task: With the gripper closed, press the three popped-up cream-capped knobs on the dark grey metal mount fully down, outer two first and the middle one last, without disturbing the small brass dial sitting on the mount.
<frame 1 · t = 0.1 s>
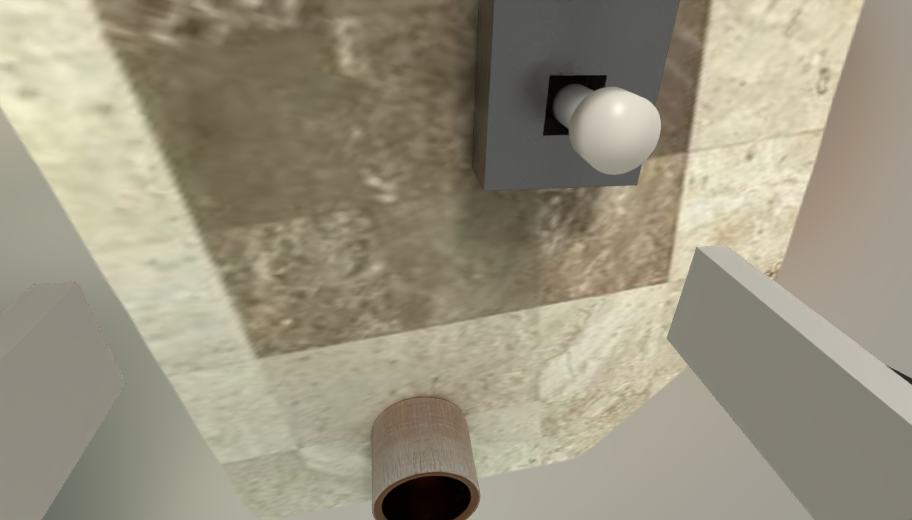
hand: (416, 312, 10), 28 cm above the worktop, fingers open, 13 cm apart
knob 1: (594, 118, 29), point 8 cm above the worktop, slide at 0.0 cm
planter: (419, 424, 54), on the worktop
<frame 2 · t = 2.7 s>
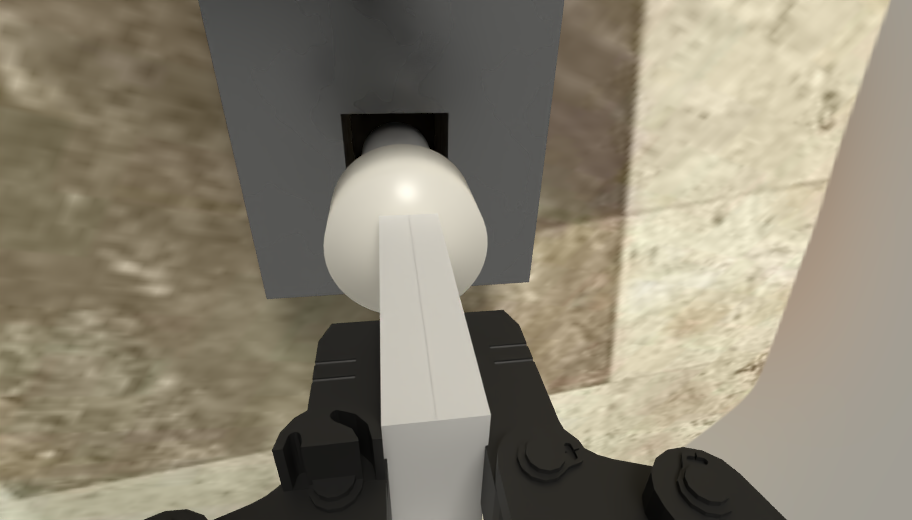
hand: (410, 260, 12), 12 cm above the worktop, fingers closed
knob 1: (400, 193, 16), point 8 cm above the worktop, slide at 0.6 cm, touching gripper
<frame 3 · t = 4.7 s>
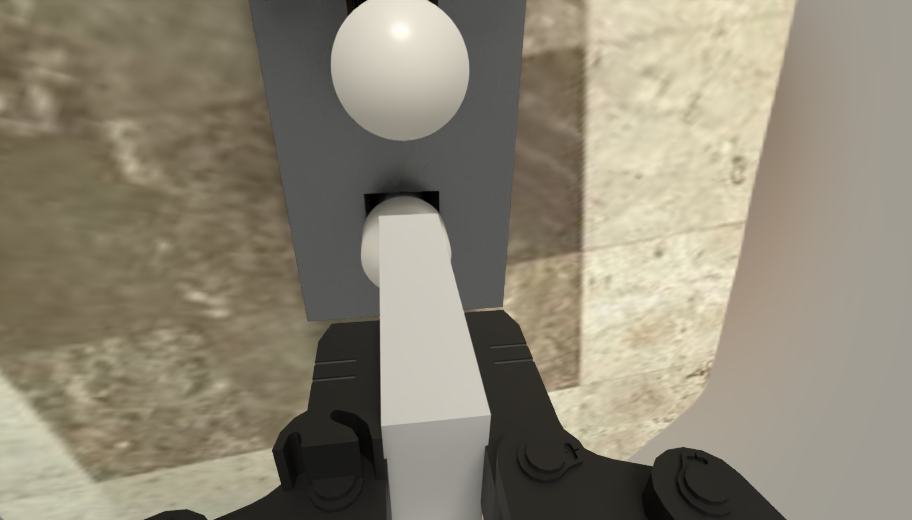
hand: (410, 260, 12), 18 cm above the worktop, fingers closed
knob mid: (397, 57, 18), point 8 cm above the worktop, slide at 0.0 cm
mount: (392, 38, 26), on the worktop
knob 1: (403, 222, 26), point 5 cm above the worktop, slide at 3.9 cm
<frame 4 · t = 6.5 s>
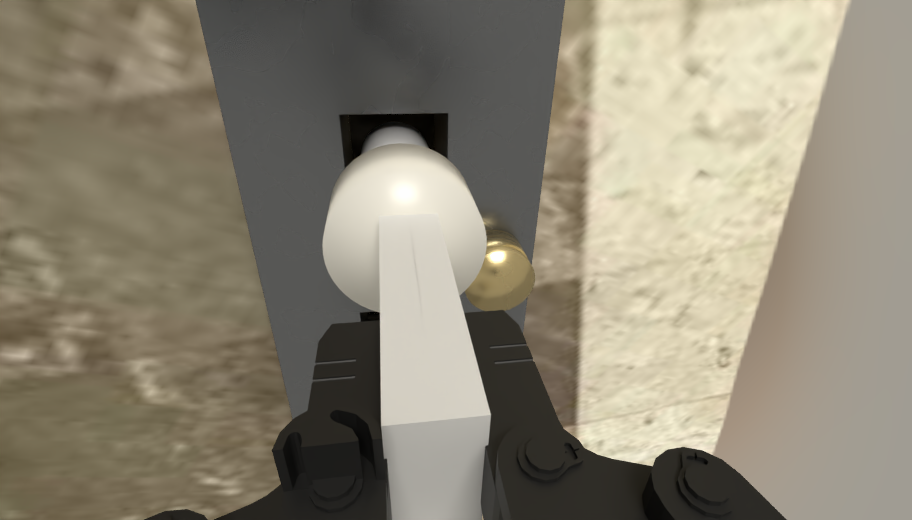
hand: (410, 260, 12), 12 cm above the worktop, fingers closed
knob 2: (400, 193, 16), point 8 cm above the worktop, slide at 0.8 cm, touching gripper
brass dial: (489, 258, 21), point 5 cm above the worktop, touching mount
mount: (399, 284, 27), on the worktop
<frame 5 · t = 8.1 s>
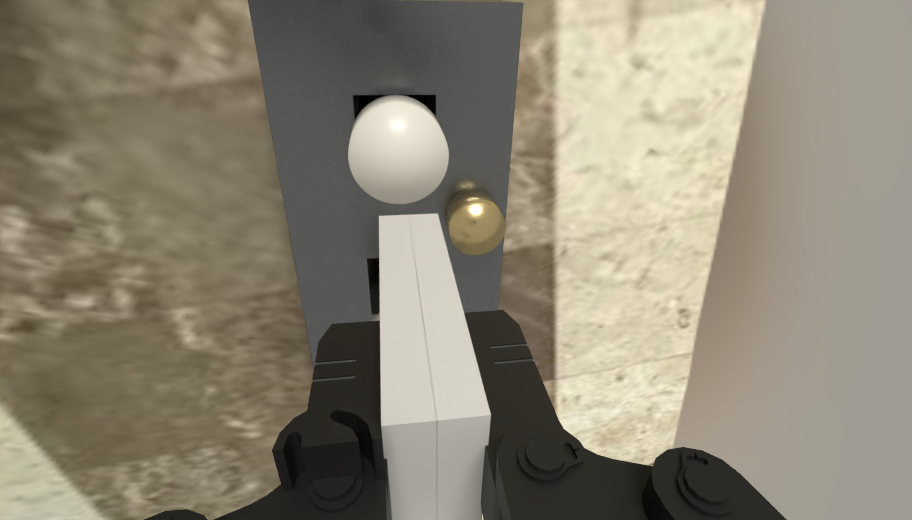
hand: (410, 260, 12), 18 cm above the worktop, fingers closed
knob 2: (396, 133, 24), point 5 cm above the worktop, slide at 3.9 cm
knob mid: (405, 320, 25), point 8 cm above the worktop, slide at 0.0 cm
brass dial: (471, 214, 26), point 5 cm above the worktop, touching mount
mount: (399, 246, 32), on the worktop
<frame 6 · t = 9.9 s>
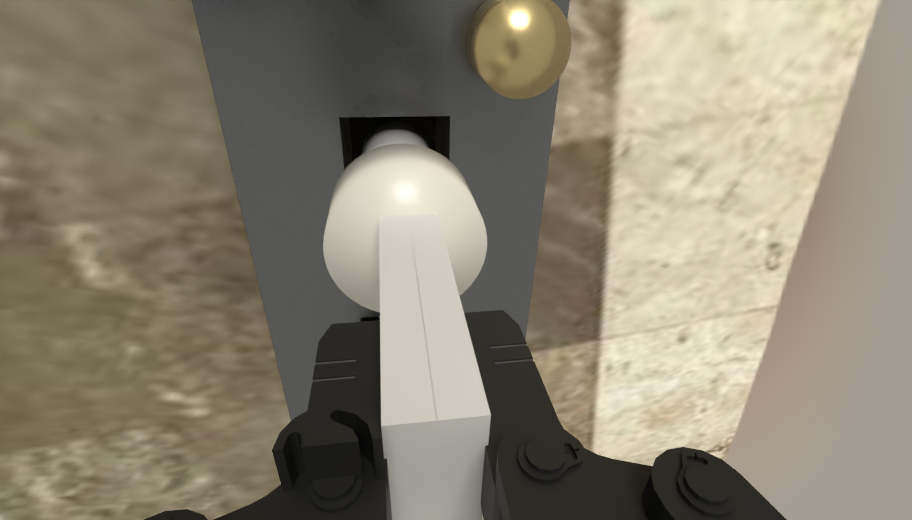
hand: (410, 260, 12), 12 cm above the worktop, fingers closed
knob mid: (400, 193, 16), point 7 cm above the worktop, slide at 1.2 cm, touching gripper
brass dial: (508, 41, 16), point 5 cm above the worktop, touching mount
mount: (393, 132, 22), on the worktop
knob 1: (404, 341, 23), point 5 cm above the worktop, slide at 3.9 cm
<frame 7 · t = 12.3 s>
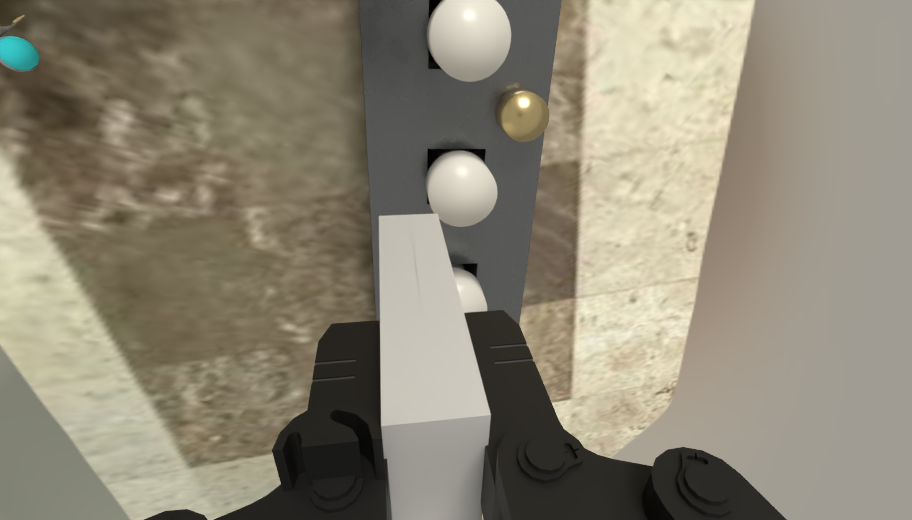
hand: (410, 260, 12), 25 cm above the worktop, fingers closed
knob 2: (460, 33, 29), point 5 cm above the worktop, slide at 3.9 cm
knob mid: (454, 174, 33), point 5 cm above the worktop, slide at 3.9 cm
brass dial: (517, 111, 31), point 5 cm above the worktop, touching mount
mount: (446, 156, 37), on the worktop
knob 1: (450, 283, 37), point 5 cm above the worktop, slide at 3.9 cm
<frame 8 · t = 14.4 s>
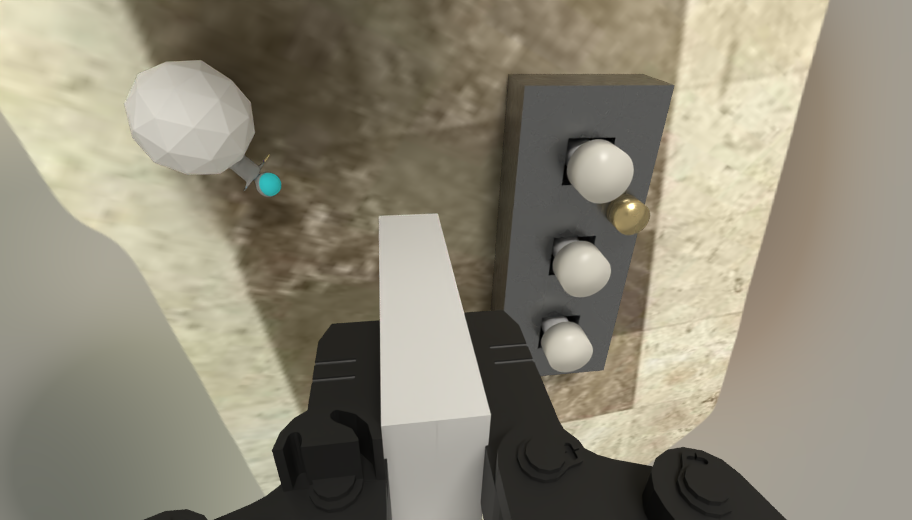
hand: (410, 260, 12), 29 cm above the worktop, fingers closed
knob 2: (586, 160, 39), point 5 cm above the worktop, slide at 3.9 cm
knob mid: (570, 253, 43), point 5 cm above the worktop, slide at 3.9 cm
brass dial: (622, 209, 41), point 5 cm above the worktop, touching mount
perfume bottle: (228, 126, 38), on the worktop
mount: (554, 231, 47), on the worktop
knob 1: (557, 329, 48), point 5 cm above the worktop, slide at 3.9 cm
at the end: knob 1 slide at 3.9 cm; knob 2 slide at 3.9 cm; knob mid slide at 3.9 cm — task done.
